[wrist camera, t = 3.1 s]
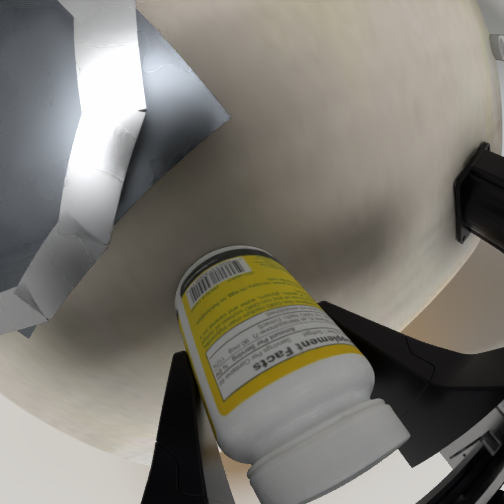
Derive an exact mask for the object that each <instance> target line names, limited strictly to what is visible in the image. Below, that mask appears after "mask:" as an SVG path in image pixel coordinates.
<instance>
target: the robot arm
mask: <svg viewBox="0 0 504 504" xmlns="http://www.w3.org/2000/svg"><path fill="white" fill-rule="evenodd" d="M455 194H456V207H457V234H458V242H460V243H461V244H462V243H464V241H465V240H466V238H467V237H468V235H469V234H470V233H473V234H474V235H476V236H478V237H479V238H481V239H483V240H484V241H486V242H488V243H489V244H490V245H492V246H494V247H495V248H496V249H498V250H500V251H501V252H502V253H504V157H502V156H500V155H498V154H495V153H493V152H490V144H489V143H486V142H484V143H483V145H482V146H481V148H480V149H479V151H478V152H477V154H476V155H475V157H474V158H473V159H472V161H471V162H470V164H469V165H468V166H467V168H466V169H465V171H464V172H463V173H462V175H461V176H460V177H459V179H458V180H457V182H456V185H455ZM317 304H318V305H319V306H320V307H321V308H322V309H323V311H324V312H325V313H326V314H327V315H328V316H329V317H330V318H331V319H332V320H333V322H334V323H335V324H336V325H337V326H338V327H339V328H340V329H341V330H342V332H343V333H344V334H345V335H346V336H347V337H348V338H349V339H350V341H351V342H352V343H353V344H354V345H355V346H356V347H357V348H358V350H359V351H360V352H361V353H362V354H363V355H364V356H365V357H366V359H367V360H368V362H369V363H370V365H371V367H372V368H373V371H374V376H375V382H374V388H373V391H372V394H371V396H370V399H371V400H373V399H382V400H384V402H385V404H388V405H390V406H391V408H392V410H393V411H394V413H395V414H396V415H397V417H398V418H399V420H400V421H401V422H402V424H403V425H404V426H405V428H406V429H407V431H408V432H409V434H410V438H409V439H408V440H407V441H406V442H405V443H404V444H403V445H401V446H400V447H399V448H398V449H399V451H400V452H401V454H402V455H403V456H404V458H405V459H406V461H407V462H408V463H409V465H410V466H411V467H412V468H413V467H415V466H416V465H418V464H420V463H422V462H423V461H425V460H427V459H428V458H430V457H432V456H433V455H435V454H436V453H438V452H440V453H441V454H442V456H443V457H444V458H445V459H446V461H447V462H448V463H449V464H450V466H451V467H452V468H453V470H452V471H451V472H450V473H449V474H448V475H447V477H445V478H444V479H443V480H442V481H441V482H440V483H439V484H438V485H437V486H436V487H435V488H434V489H433V490H431V491H430V492H429V493H428V494H427V495H426V496H424V497H423V498H422V499H421V500H420V501H418V502H417V503H416V504H504V491H502V490H499V489H500V488H501V487H502V485H503V484H504V347H503V348H499V349H495V350H491V351H487V352H483V353H478V354H462V353H458V352H455V351H451V350H448V349H444V348H441V347H437V346H434V345H431V344H428V343H425V342H422V341H419V340H417V339H414V338H412V337H409V336H407V335H404V334H402V333H400V332H397V331H395V330H392V329H390V328H388V327H385V326H383V325H380V324H378V323H376V322H373V321H371V320H369V319H366V318H364V317H361V316H359V315H357V314H354V313H352V312H350V311H347V310H345V309H343V308H340V307H338V306H336V305H333V304H331V303H329V302H326V301H321V302H319V303H317ZM156 441H157V442H156V443H155V449H154V454H153V460H152V465H151V469H150V472H149V477H148V481H147V483H146V487H145V490H144V494H143V497H142V501H141V504H235V502H234V499H233V496H232V493H231V490H230V487H229V484H228V480H227V478H226V474H225V471H224V467H223V464H222V461H221V457H220V454H219V450H218V447H217V443H216V439H215V437H214V434H213V431H212V428H211V425H210V423H209V420H208V417H207V414H206V411H205V408H204V405H203V402H202V399H201V396H200V393H199V391H198V387H197V384H196V381H195V378H194V375H193V372H192V368H191V365H190V362H189V359H188V355H187V353H186V352H185V351H181V352H177V353H175V354H174V355H173V358H172V363H171V367H170V372H169V376H168V381H167V386H166V391H165V395H164V400H163V405H162V411H161V416H160V421H159V426H158V432H157V438H156Z"/></svg>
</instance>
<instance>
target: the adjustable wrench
mask: <svg viewBox="0 0 504 504" xmlns="http://www.w3.org/2000/svg"><path fill="white" fill-rule="evenodd" d="M490 44H491V49H492V52H493V55H494V57H495V59H496V60H501V61H504V35H499V34H490Z"/></svg>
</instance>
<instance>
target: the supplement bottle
mask: <svg viewBox="0 0 504 504" xmlns="http://www.w3.org/2000/svg"><path fill="white" fill-rule="evenodd" d="M175 310H176V315H177V320H178V324H179V327H180V331H181V335H182V338H183V342H184V345H185V349H186V352H187V355H188V359H189V362H190V365H191V368H192V372H193V375H194V378H195V381H196V384H197V387H198V391H199V393H200V396H201V399H202V402H203V405H204V408H205V411H206V414H207V417H208V420H209V423H210V425H211V428H212V431H213V434H214V437H215V439H216V441H217V444H218V446H219V447H220V448H221V450H222V451H223V452H224V454H226V455H227V456H228V457H229V458H231V459H233V460H235V461H238V462H240V463H245V464H251V465H252V467H251V468H250V469H249V470H248V472H247V477H248V478H249V479H250V484H251V486H252V487H253V489H254V491H255V493H256V495H257V497H258V499H259V501H260V503H261V504H306V503H308V502H311V501H313V500H315V499H317V498H319V497H322V496H324V495H326V494H328V493H330V492H332V491H334V490H336V489H337V488H339V487H341V486H343V485H345V484H346V483H348V482H350V481H351V480H353V479H355V478H356V477H358V476H359V475H361V474H363V473H364V472H366V471H368V470H369V469H371V468H372V467H373V466H375V465H376V464H378V463H379V462H380V461H382V460H383V459H385V458H386V457H387V456H389V455H390V454H392V453H393V452H394V451H395V450H396V449H398V448H399V447H400V446H401V445H403V444H404V443H405V442H406V441H407V440H408V439H409V438H410V434H409V432H408V431H407V429H406V428H405V426H404V425H403V424H402V422H401V421H400V420H399V418H398V417H397V415H396V414H395V413H394V411H393V410H392V408H391V406H390V405H388V404H385V402H384V400H382V399H373V400H371V399H370V396H371V394H372V391H373V388H374V382H375V376H374V371H373V368H372V367H371V365H370V363H369V362H368V360H367V359H366V357H365V356H364V355H363V354H362V353H361V352H360V351H359V350H358V348H357V347H356V346H355V345H354V344H353V343H352V342H351V341H350V339H349V338H348V337H347V336H346V335H345V334H344V333H343V332H342V330H341V329H340V328H339V327H338V326H337V325H336V324H335V323H334V322H333V320H332V319H331V318H330V317H329V316H328V315H327V314H326V313H325V312H324V311H323V309H322V308H321V307H320V306H319V305H318V304H317V303H316V302H315V300H314V299H313V298H312V297H311V296H310V295H309V294H308V293H307V292H306V291H305V289H304V288H303V287H302V286H301V285H300V284H299V283H298V282H297V281H296V280H295V279H294V277H293V276H292V275H291V274H290V273H289V272H288V271H287V270H286V269H285V268H284V267H283V266H282V264H281V263H280V262H279V261H278V260H277V259H275V258H274V257H273V256H272V255H271V254H270V253H268V252H266V251H264V250H262V249H260V248H257V247H252V246H229V247H224V248H221V249H218V250H215V251H213V252H210V253H208V254H206V255H205V256H203V257H202V258H200V259H199V260H198V261H196V262H195V263H194V264H193V265H192V266H191V267H190V268H189V269H188V270H187V272H186V273H185V274H184V276H183V277H182V279H181V281H180V283H179V285H178V288H177V291H176V296H175Z"/></svg>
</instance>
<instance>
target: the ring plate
mask: <svg viewBox="0 0 504 504" xmlns="http://www.w3.org/2000/svg"><path fill="white" fill-rule="evenodd" d="M230 118H231V117H230V116H229V115H228V113H227V112H226V111H225V110H224V108H223V107H222V106H221V105H220V103H219V102H218V101H217V100H216V98H215V97H214V96H213V95H212V93H211V92H210V91H209V90H208V88H207V87H206V86H205V85H204V84H203V82H202V81H201V80H200V79H199V78H198V76H197V75H196V74H195V73H194V72H193V70H192V69H191V68H190V67H189V66H188V65H187V63H186V62H185V61H184V60H183V59H182V58H181V57H180V55H179V54H178V53H177V52H176V51H175V50H174V49H173V48H172V46H171V45H170V44H169V43H168V42H167V41H166V40H165V39H164V38H163V37H162V35H161V34H160V33H159V32H158V31H157V30H156V29H155V28H154V27H153V26H152V25H151V24H150V23H149V22H148V21H147V19H146V18H145V17H144V16H143V15H142V14H141V13H140V12H139V11H138V10H137V9H136V8H135V0H0V335H2V334H5V333H9V332H13V331H16V330H17V331H18V332H20V333H21V334H23V335H24V336H26V337H27V338H29V337H30V336H31V334H32V332H33V331H34V329H35V328H36V326H37V325H38V324H41V323H45V322H48V321H49V320H51V318H52V317H53V315H54V314H55V313H56V311H57V310H58V309H59V307H60V306H61V304H62V303H63V302H64V300H65V299H66V298H67V297H68V295H69V294H70V293H71V291H72V290H73V289H74V287H75V286H76V285H77V284H78V282H79V281H80V280H81V279H82V277H83V276H84V275H85V274H86V273H87V271H88V270H89V269H90V268H91V267H92V265H93V264H94V263H95V262H96V261H97V259H98V258H99V257H100V256H101V255H102V254H103V253H104V251H105V250H106V249H107V248H108V244H110V239H111V234H112V229H113V226H114V225H115V224H116V223H117V222H118V221H119V220H120V218H121V217H122V216H123V215H124V214H125V213H126V212H127V211H128V210H129V209H130V208H131V207H132V206H133V205H134V204H135V203H136V202H137V201H138V200H139V199H140V198H141V197H142V196H143V195H144V194H145V193H146V192H147V191H148V190H149V189H150V188H151V187H152V186H153V185H154V184H155V183H156V182H157V181H158V180H159V179H160V178H161V177H162V176H163V175H164V174H165V173H166V172H168V171H169V170H170V169H171V168H172V167H173V166H174V165H175V164H176V163H177V162H178V161H180V160H181V159H182V158H183V157H184V156H185V155H186V154H188V153H189V152H190V151H191V150H192V149H193V148H195V147H196V146H197V145H198V144H199V143H200V142H202V141H203V140H204V139H205V138H206V137H208V136H209V135H210V134H211V133H213V132H214V131H215V130H216V129H218V128H219V127H220V126H221V125H223V124H224V123H225V122H226V121H228V120H229V119H230Z"/></svg>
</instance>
